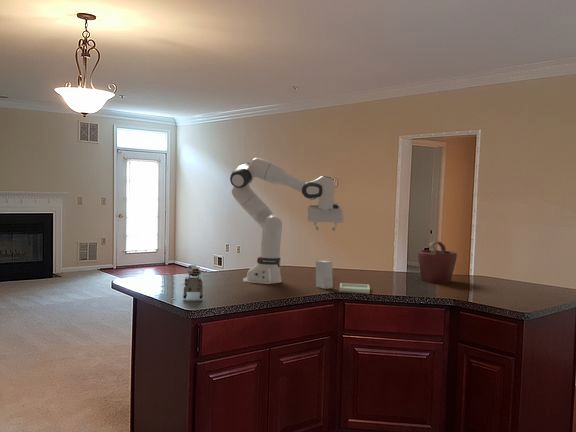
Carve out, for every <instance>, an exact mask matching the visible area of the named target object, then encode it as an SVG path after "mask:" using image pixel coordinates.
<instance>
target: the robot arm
mask: <svg viewBox="0 0 576 432" xmlns="http://www.w3.org/2000/svg"><path fill="white" fill-rule="evenodd" d="M254 178H257V179H260V180H263V181H265V182H266V183H270V184H274V185H282V186H286V187H289V188H292V189H294V190H295V191H298V192H300V193H301V194H302V195H303V196H304V197H305V198H306V199H307V200H310V201H311V200H313V201H314V200H316V199H318V202H317V204H314V205H313V204H310V205H309V206H308V207H307V221H308V222H309V223H310V222H311V223H312V222H313V225H314V227H315V231H319V228H320V227H319V226H318V225H317V224H318V223H331V224H332V223H334V226H333V227H332V228H331V231H332V232H335V231H336V228H337V226H338V224H342V223H344V222H345V213H344V211H343V205H342V204H338V203H336V202H335V192H336V191H335V190H336V188H335V180H334V178H333V177H330V176H326V175H321V176H319V177H318V178H316V179H314V180H311V181H304V180H302V179H299V178H297V177H295V176H294V175H293V176H292V175H291V174H290V173H289V172H287V171H286V170H285V169H284V168H283V167H281V166H280V165H279V164H276V163H275V162H272V161H270V160H267V159H265V158H261V157H254V158H253V159H251V161H250V162H242V163H240V164H239V165H238V166H236V168H235V169H234V170H233V171H232V172H231V174H230V178H229V180H230V184H231V185H232V186H233V187H232V189H231V194H232V197H234V199H235V201H236V202H237V203H238V204H239V205H240V206H241V208H242V209H243V210H244V211H245V212H246V213H247V214H248V215H249V216H250V217H251V218H252V219H253V220H254V221H255V222H256V223H257V224H258V225H259V227H260V228H261V231H262V232H261V233H262V234H261V241H260V256H258V257H257V258H256V264H255V265H253V266H252V267H250V268H249V269H248V271H247V272H246V273H247V274H246V277H243V278H242V282H244V283H253V284H263V285H269V284H270V285H271V284H278V283H279V284H280V283H282V282H283V281H282V277H281V275H282V274H281V261H282V260H281V239H282V230H283V222H282V219H281V217H279V216H278V215H276V214H275V213H274V212H273V211H272V209H271V208H270V207H269V206H268V205H267V204H266V203H265V202H264V200H262V198H261V197H260V196H259V195H258V194H257V193H255V191H254V190H253V189H252V188H251V186H250V184H251V183H252V182H253V180H254Z"/></svg>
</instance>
